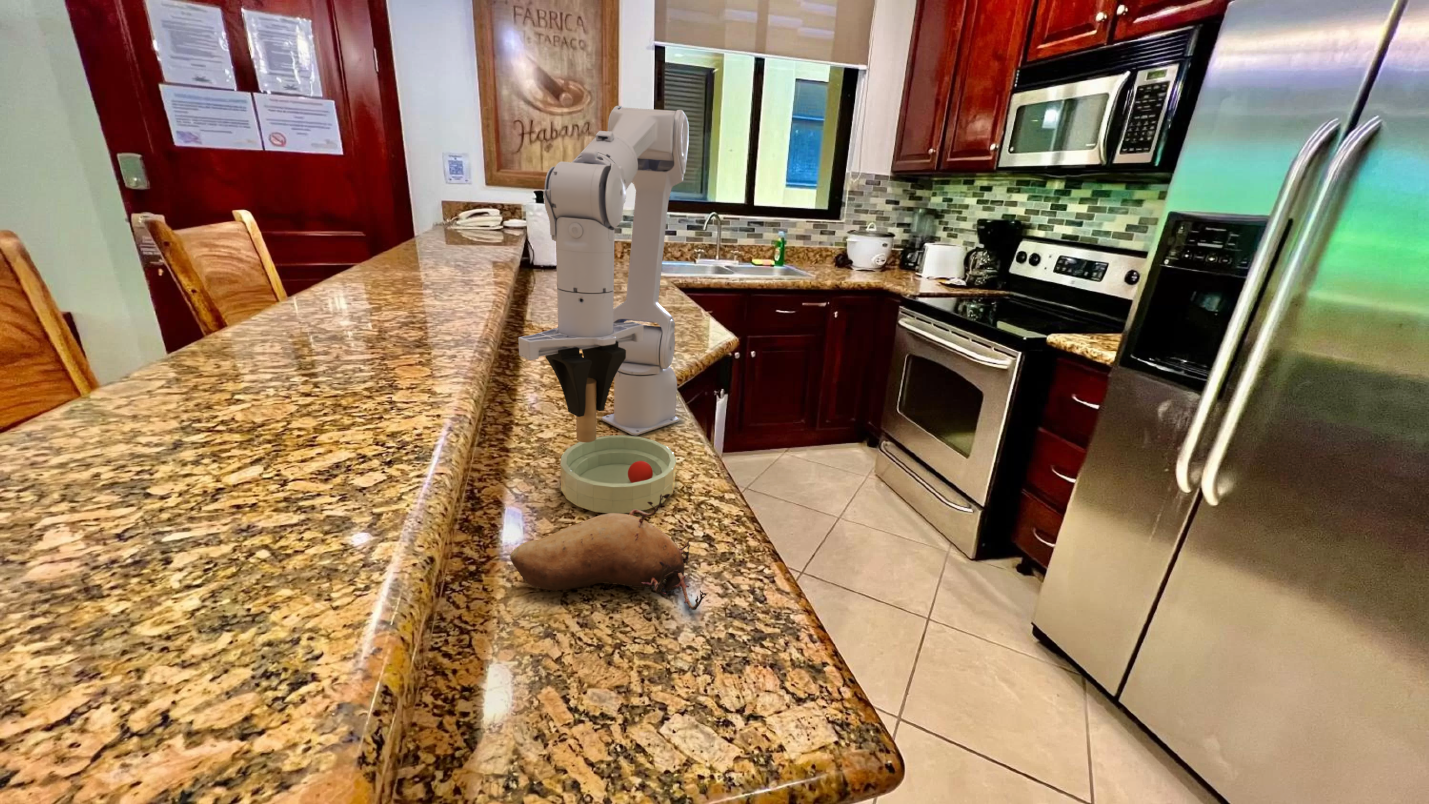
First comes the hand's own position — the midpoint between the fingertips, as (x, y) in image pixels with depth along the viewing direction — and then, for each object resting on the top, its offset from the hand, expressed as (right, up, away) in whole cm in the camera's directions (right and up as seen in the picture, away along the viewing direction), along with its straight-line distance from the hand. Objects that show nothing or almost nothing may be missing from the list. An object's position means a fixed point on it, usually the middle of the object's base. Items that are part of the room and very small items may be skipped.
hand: (586, 411), depth 61 cm
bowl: (+3, -9, +5) cm, 11 cm away
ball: (+5, -8, +5) cm, 10 cm away
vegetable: (+5, -16, -13) cm, 21 cm away
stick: (0, -3, +1) cm, 3 cm away
